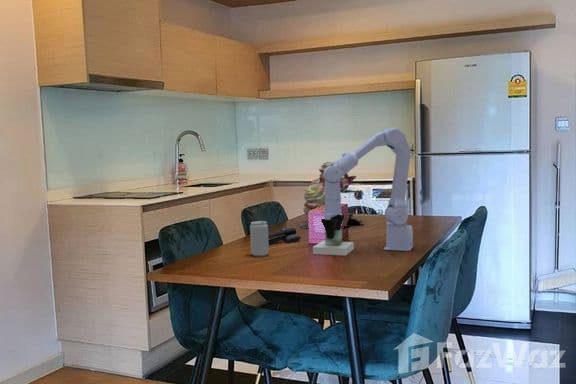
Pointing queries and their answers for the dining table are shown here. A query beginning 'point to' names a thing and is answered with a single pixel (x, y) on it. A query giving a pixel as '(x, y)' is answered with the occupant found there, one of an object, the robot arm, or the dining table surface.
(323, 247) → the stacking base
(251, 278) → the dining table surface
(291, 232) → the can opener
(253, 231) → the beverage can
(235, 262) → the dining table surface
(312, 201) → the rose bouquet
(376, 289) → the dining table surface
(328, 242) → the green cube
